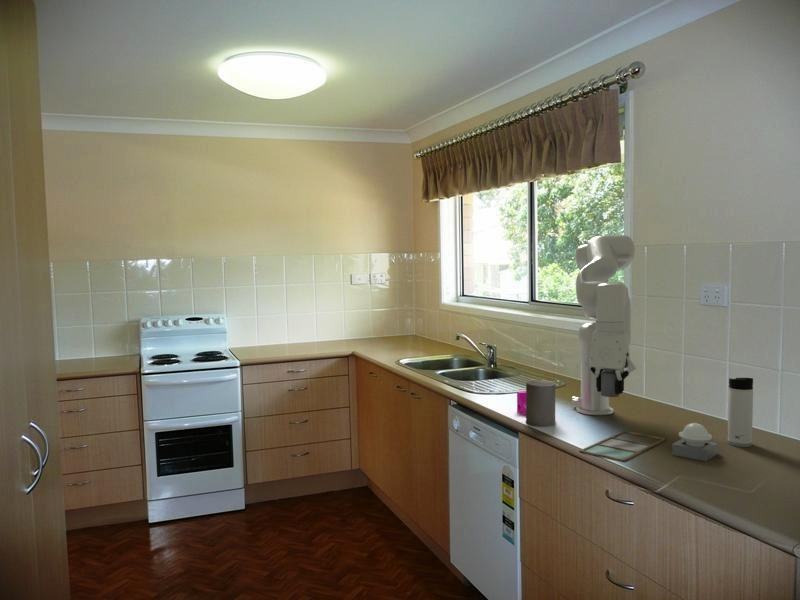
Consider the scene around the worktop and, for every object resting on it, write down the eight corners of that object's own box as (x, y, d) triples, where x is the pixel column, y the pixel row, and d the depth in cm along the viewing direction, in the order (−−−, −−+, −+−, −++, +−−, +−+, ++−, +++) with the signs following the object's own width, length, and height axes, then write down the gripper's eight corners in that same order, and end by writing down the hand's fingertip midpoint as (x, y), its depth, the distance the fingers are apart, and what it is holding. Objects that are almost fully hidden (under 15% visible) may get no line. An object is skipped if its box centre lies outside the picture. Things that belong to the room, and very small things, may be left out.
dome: (673, 448, 178) (674, 423, 177) (685, 442, 184) (685, 418, 183) (705, 454, 172) (705, 429, 171) (716, 447, 178) (716, 422, 177)
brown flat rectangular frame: (579, 452, 182) (579, 450, 182) (624, 432, 201) (624, 430, 201) (624, 461, 172) (624, 460, 172) (666, 440, 192) (666, 438, 192)
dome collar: (672, 454, 178) (672, 444, 178) (684, 447, 184) (684, 437, 184) (705, 461, 172) (706, 450, 171) (717, 453, 178) (718, 443, 178)
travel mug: (740, 448, 182) (741, 379, 181) (722, 442, 189) (723, 375, 187) (758, 446, 184) (759, 377, 183) (739, 440, 190) (741, 373, 189)
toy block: (554, 420, 217) (554, 398, 217) (538, 422, 215) (538, 400, 215) (532, 411, 231) (532, 390, 231) (517, 412, 229) (517, 391, 229)
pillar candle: (519, 422, 215) (519, 378, 214) (541, 417, 220) (541, 374, 219) (540, 428, 207) (540, 382, 206) (562, 424, 212) (562, 379, 211)
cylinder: (597, 395, 179) (597, 360, 179) (605, 392, 183) (606, 358, 182) (614, 397, 176) (614, 362, 175) (621, 395, 179) (622, 360, 179)
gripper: (575, 326, 181) (575, 390, 183) (633, 330, 170) (633, 398, 171) (588, 324, 187) (588, 386, 188) (645, 328, 175) (645, 394, 176)
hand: (609, 391), depth 179 cm, fingers closed on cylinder, 4 cm apart
